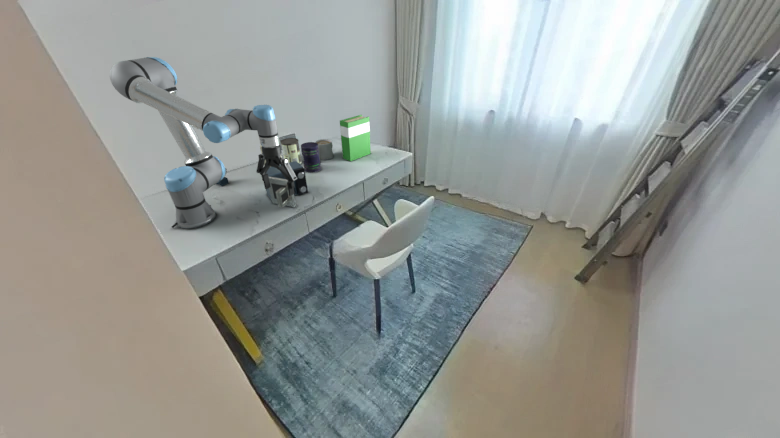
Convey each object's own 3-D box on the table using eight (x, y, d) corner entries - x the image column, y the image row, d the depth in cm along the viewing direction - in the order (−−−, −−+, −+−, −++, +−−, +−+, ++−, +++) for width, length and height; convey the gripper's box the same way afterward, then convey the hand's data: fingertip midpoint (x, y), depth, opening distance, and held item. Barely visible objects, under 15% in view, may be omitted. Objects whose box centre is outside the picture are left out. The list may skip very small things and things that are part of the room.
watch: (232, 181, 174) (226, 163, 168) (218, 187, 168) (212, 168, 162) (225, 179, 176) (220, 160, 170) (212, 184, 171) (206, 165, 165)
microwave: (308, 193, 163) (304, 168, 155) (274, 203, 154) (268, 177, 147) (300, 185, 171) (296, 161, 163) (266, 194, 162) (260, 169, 154)
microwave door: (286, 214, 146) (280, 188, 138) (263, 209, 149) (257, 183, 142) (296, 205, 152) (291, 180, 145) (274, 201, 156) (268, 176, 148)
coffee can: (293, 158, 202) (289, 136, 194) (305, 161, 197) (301, 139, 190) (281, 163, 195) (276, 141, 187) (292, 167, 190) (288, 144, 182)
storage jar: (315, 173, 183) (311, 149, 174) (301, 171, 186) (297, 146, 177) (324, 167, 190) (321, 143, 182) (310, 164, 193) (307, 141, 185)
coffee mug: (325, 161, 198) (323, 145, 193) (314, 157, 203) (312, 142, 198) (339, 154, 207) (338, 139, 202) (328, 151, 212) (327, 136, 207)
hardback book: (362, 150, 213) (361, 114, 200) (370, 153, 209) (369, 116, 196) (342, 158, 202) (339, 120, 189) (350, 161, 198) (347, 123, 185)
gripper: (240, 143, 130) (252, 188, 142) (288, 153, 122) (296, 201, 133) (254, 137, 136) (264, 182, 148) (301, 147, 127) (307, 193, 139)
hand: (279, 191), depth 141 cm, fingers open, 13 cm apart
